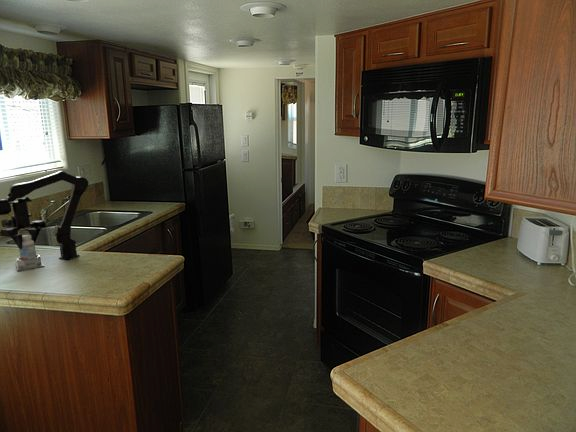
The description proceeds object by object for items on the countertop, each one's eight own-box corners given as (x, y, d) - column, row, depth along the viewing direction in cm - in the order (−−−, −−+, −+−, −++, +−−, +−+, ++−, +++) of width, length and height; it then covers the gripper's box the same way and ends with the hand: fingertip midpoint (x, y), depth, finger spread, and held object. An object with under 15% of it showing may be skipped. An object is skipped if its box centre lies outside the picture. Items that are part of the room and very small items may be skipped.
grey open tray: (43, 266, 188) (42, 259, 188) (17, 271, 183) (16, 263, 182) (41, 259, 200) (39, 251, 199) (15, 263, 194) (14, 255, 193)
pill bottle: (18, 261, 190) (13, 236, 187) (31, 257, 195) (27, 233, 192) (26, 263, 187) (22, 238, 184) (39, 258, 192) (35, 234, 190)
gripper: (25, 207, 197) (31, 240, 201) (-13, 216, 180) (-7, 251, 183) (44, 208, 194) (49, 241, 197) (7, 217, 177) (13, 253, 180)
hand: (27, 246), depth 190 cm, fingers closed on pill bottle, 6 cm apart
